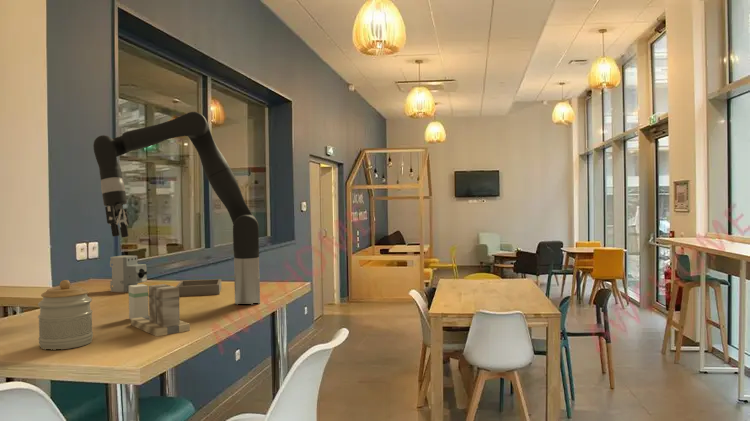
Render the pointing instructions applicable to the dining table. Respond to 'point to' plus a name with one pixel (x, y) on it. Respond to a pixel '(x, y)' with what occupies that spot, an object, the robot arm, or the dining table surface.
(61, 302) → the jar
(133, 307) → the block
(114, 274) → the circuit breaker
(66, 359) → the dining table surface
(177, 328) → the grey marble bookend
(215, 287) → the coaster tray
